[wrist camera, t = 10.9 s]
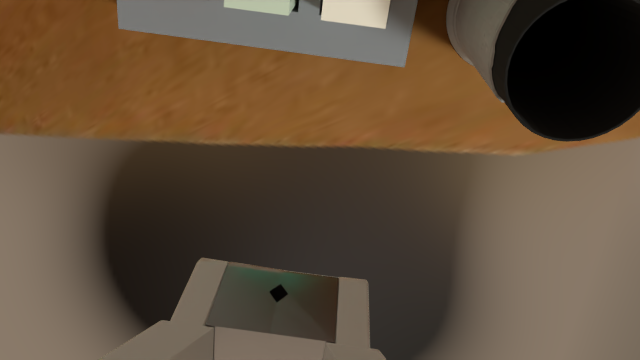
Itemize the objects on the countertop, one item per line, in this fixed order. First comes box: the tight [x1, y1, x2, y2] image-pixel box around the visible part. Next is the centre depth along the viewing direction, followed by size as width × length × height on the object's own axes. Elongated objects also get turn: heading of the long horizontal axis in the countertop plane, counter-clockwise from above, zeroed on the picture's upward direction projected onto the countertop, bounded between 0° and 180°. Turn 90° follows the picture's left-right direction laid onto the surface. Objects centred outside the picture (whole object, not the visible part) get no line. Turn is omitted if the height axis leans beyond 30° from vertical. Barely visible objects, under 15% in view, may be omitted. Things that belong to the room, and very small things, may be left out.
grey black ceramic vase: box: [446, 0, 640, 141], centre depth 31 cm, size 9×14×15 cm, turn 91°
